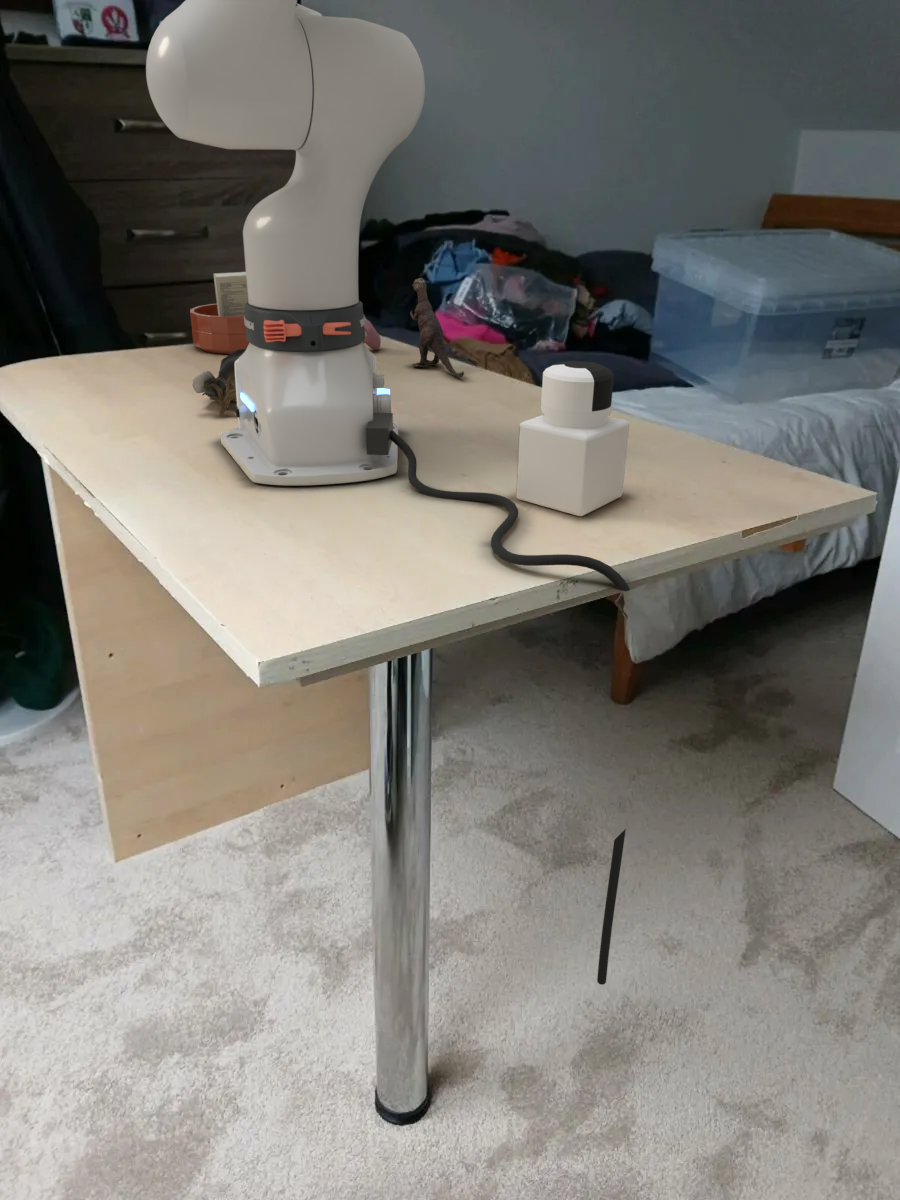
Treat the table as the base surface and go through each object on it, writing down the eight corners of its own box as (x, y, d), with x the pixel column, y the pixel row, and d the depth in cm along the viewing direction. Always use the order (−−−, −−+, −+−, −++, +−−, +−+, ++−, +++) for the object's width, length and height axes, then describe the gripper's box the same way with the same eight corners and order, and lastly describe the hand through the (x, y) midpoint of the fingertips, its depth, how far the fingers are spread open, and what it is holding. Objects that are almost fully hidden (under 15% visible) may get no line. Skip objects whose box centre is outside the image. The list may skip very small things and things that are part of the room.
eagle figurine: (270, 406, 109) (274, 374, 116) (230, 357, 105) (237, 327, 112) (218, 439, 111) (225, 406, 118) (176, 392, 107) (187, 361, 114)
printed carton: (252, 338, 148) (247, 271, 143) (256, 344, 144) (251, 274, 139) (219, 340, 146) (212, 272, 142) (221, 345, 142) (215, 275, 138)
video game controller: (315, 358, 145) (304, 320, 139) (325, 340, 147) (315, 301, 142) (375, 363, 142) (366, 324, 137) (384, 344, 145) (376, 305, 139)
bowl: (284, 353, 141) (282, 315, 138) (193, 356, 138) (189, 318, 136) (278, 336, 152) (276, 301, 150) (194, 339, 149) (190, 303, 147)
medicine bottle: (558, 480, 90) (566, 353, 85) (623, 497, 86) (636, 364, 81) (514, 499, 85) (520, 365, 80) (581, 518, 81) (592, 378, 76)
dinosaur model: (421, 274, 132) (483, 295, 121) (422, 357, 138) (481, 384, 127) (396, 277, 130) (457, 298, 119) (398, 361, 136) (456, 389, 125)
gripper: (185, 19, 124) (196, 135, 131) (297, 9, 114) (303, 137, 120) (222, 23, 129) (231, 136, 135) (332, 15, 118) (337, 137, 124)
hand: (266, 136), depth 127 cm, fingers open, 8 cm apart
